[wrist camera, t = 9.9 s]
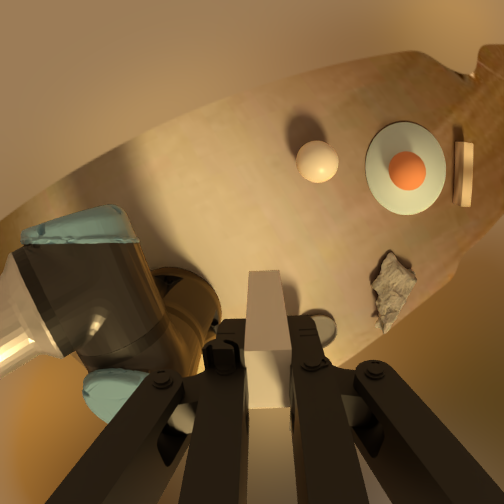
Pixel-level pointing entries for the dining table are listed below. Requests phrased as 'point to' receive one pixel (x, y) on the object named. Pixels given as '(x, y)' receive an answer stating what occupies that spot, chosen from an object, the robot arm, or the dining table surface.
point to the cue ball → (317, 161)
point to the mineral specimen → (392, 290)
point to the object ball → (407, 170)
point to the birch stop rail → (463, 173)
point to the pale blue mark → (386, 148)
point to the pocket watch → (325, 329)
